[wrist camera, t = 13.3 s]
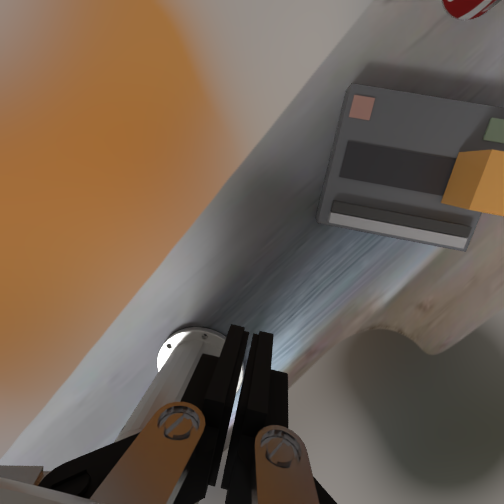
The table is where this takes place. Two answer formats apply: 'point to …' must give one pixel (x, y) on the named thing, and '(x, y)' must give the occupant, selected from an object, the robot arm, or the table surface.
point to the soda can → (467, 8)
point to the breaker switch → (477, 182)
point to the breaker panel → (404, 164)
